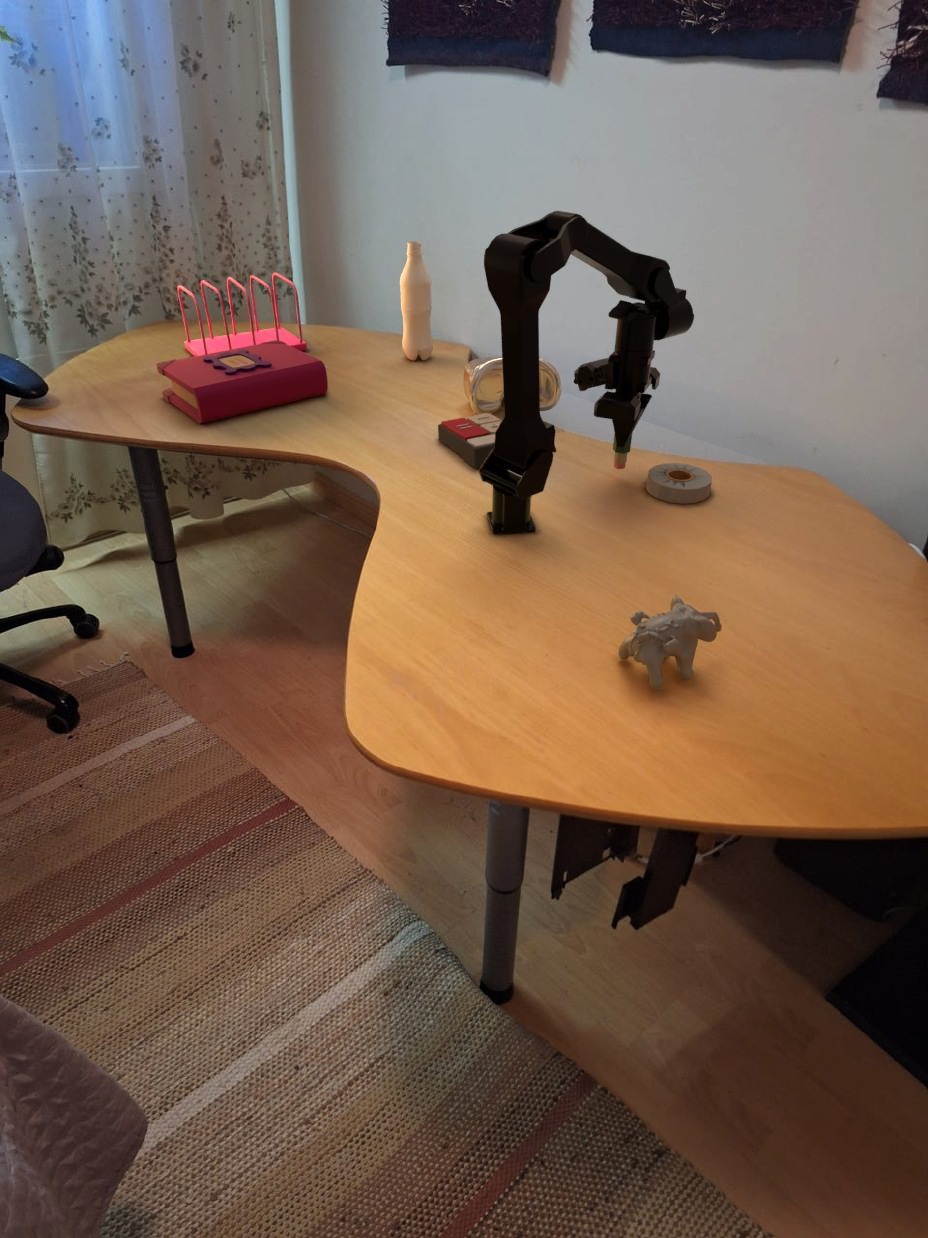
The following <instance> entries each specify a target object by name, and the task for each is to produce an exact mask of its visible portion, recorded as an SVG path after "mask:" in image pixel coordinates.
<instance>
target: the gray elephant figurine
mask: <svg viewBox="0 0 928 1238" xmlns="http://www.w3.org/2000/svg"><path fill="white" fill-rule="evenodd" d="M642 619H646V620H644V621H642ZM630 622H631V623H632V624H633V625H634V626H636V627H635V631H633V632H632V633H630V634H629V635H628V636H627V637H626V638H625V639H624V640H623V641H622V642H621V644H620V645H619V647H618V657H619V658H620V660H622V661H626V660H628V659H629V658H630V657H633V661H634V662H636V663H641V664H642V665H643V666H645V667H646V670H647V673H648V677H649V687H650V688H651V689H652V690H654V691H660V690H661V689H662V688H664V685H665V679H664V676H663V667H662V666H663V662H664V660H669V659H670V657H674V659H675V663H676V666H677V670H678V676H679V677H680V678H681V680H686V681H687V680H690V679H692V678H693V676H694V668H693V664H694V660H695V655H696V650H697V647H698V643H699V640H700V641H702V642H706V643H711V642H714V641H715V640H716V639H717V636H718V633H720V632H721V631H722V629H723V628H722V627H723V626H722V623H721V619H720V617H719V614H718V613H717V612H716V611H708V612H705V611H703V612H702V611H699V610H698V609H696V608H695V607H693V606H692V605H691V604H687V603H686V604H685V602H684V600H683V599H682V598H680V597H679V596H678V595H677V594H676V593H675V594H674V595H673V596H672V598H671V601H670V611H667V612H661V613H656V614H655V615H654V616H649V615H648V614H647V613H645V612H644V611H642V610H640V611H635V612H634V613H633V614H632V615H631V616H630Z"/></svg>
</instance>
